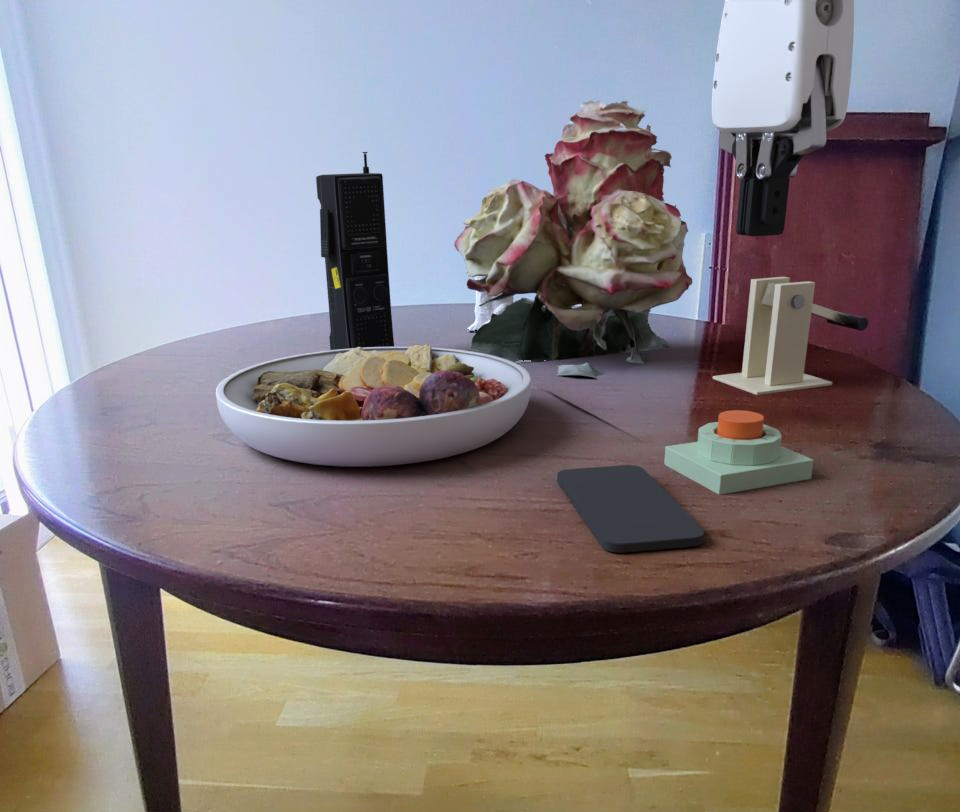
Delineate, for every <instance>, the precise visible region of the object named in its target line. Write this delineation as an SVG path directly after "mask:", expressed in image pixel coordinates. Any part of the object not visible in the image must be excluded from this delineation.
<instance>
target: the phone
mask: <svg viewBox="0 0 960 812" xmlns="http://www.w3.org/2000/svg"><path fill="white" fill-rule="evenodd" d="M556 482H557V484H558V486H559V487H560V489H561V490H562V492H563V493H564V495H565V496H566V497H567V499H568V500H569V502H570V503H571V505H572V506H573V508H574V509H575V510H576V512H577V513H578V515H579V516H580V518H581V519H582V520H583V522H584V524H585V525H586V526H587V528H588V529H589V531H590V532H591V533H592V535H593V536H594V538H595V539H596V541H597V542H598V544H599V545H600V546H601V547H602V548H603V549H604V550H605V551H608V552H611V553H617V554H619V553H620V554H622V553H636V552H647V551H648V552H649V551H659V550H670V549H682V548H693V547H698V546H700V545H703V544H704V542H705V534H706V532H705V530H704V528H702V527H701V526H700V524H698V522H696V520H694V518H692V516H690V514H689V513H688V512H687V511H686V510H685V509H684V508H683V507H682V506H681V505H680V504H679V503H678V502H677V500H675V499H674V498H673V497H672V496H671V495H670V494H669V493H668V492H667V491H666V490H665V489H664V488H663V487H662V486H661V485H660V484H659V483H658V482H657V481H656V479H654V478H653V477H652V475H651V474H649V472H648V471H647V470H646V469H644V467H641V466H639V465H633V464H625V465H624V464H621V465H610V466H609V465H607V466H596V467H595V466H594V467H582V468H581V467H580V468H567V469H563V470H559V471H558V472H557V473H556Z"/></svg>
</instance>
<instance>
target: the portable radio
mask: <svg viewBox="0 0 960 812" xmlns="http://www.w3.org/2000/svg"><path fill="white" fill-rule="evenodd" d="M361 153H362V154H363V162H364V163H363V164H364V165H363V166H362V172H360V173H357V172H356V173H332V174H331V173H330V174H319V175H317V176H315V182H316V195H317V197H316V198H317V200H318V201H319V204H320V209H319V226H320V227H319V228H320V257H321V258H324V264H325V275H326V290H327V301H328V314H329V316H328V317H329V328H330V329H329V330H330V333H329V337H328V339H329V350H338V349H350V348H357V347H362V348H365V347H395V340H394V339H395V338H394V328H393V327H394V326H393V315H392V303H391V302H392V301H391V289H390V288H391V287H390V274H389V258H388V243H387V241H388V240H387V227H386V226H387V225H386V210H385V194H384V177H383V176H384V175H383V173H381V172H380V173H379V172H374V173H373V172H370V167H369V166H368V157H367V154H368V153H369V151H362V152H361Z"/></svg>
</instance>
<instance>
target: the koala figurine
mask: <svg viewBox="0 0 960 812" xmlns="http://www.w3.org/2000/svg"><path fill="white" fill-rule="evenodd" d="M459 254H460V255H461V253H460V252H459ZM485 277H486V276H475V277H471V278H472V280H481V279H483V278H485ZM487 293H488V292H486V291H483V292H478V291H477V290H475V305H474V311H473V312H474V315H475V320H474V322H473V323H472V324H471V325H470V326H468V327H467V329H469V330H476V329H479V328H480V327H481V326H482V325H484V324H486V323H489V322H490V320H491V315H492V314H493V313H494V314H496V315H500V314H501V313H502V312H503V311H504V310H505V309H506V306H508V305H511V304H512V303H514V296H511V297H509V298H506V299H503V300H499V301H497V300H495V301H492V302H488V303H486V304H484V305H483V306H479V305H480V304H483V303H485V302H486V301H488V300H490V299H493V298H495V297H497V296H499V295H501V294H502V293H500V294H499V295H497V296H492V297H490V296H487Z"/></svg>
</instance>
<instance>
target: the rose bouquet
mask: <svg viewBox="0 0 960 812" xmlns="http://www.w3.org/2000/svg"><path fill="white" fill-rule="evenodd" d="M628 103H629V101H627V100H625V101H624V100H623V101H620V102H612V103H611V102H610V104H608V103H603V102H602V101H601V100H596V101H593V100H588V101H585V102H583V103H579V106H580V107H579V110H578V111H576V113H575V114H573V115H571V116H570V118H569V121H568V122H567V123H566V124H565V125H564V127H563V128H562V130H561V131H562V132H561V133H562V134H561V137H562V138H561V139H559V140H558V141H557V142H556V143H555V146H554V151H552V152H551V153H545V154H544V160H545V162H546V165H547V167H548V170H547V174H548V176H549V177H550V182H551V186H552V191H553V193H551V192H549V191H548V190H546V189H540V188H538V187H536V185H533V184H532V183H530V182H528V181H525V180H522V179H517V178H512V179H511V180H509V181H507V182H506V183H503V184H502V185H500V186H497V187H493V188H492V189H489V190H488V191H487V195H486V196H485V197H484V198H482V200H481V203H480V206H479V210H478V212H477V213H476V214H474V215H473V216H472V217H469V218H467V219H466V220H464V221H463V222H462V224H463V225H466V226H465V227H464V229H463V231H462V232H460V233H459V235H458V236H457V237H456V239H455V240H454V248H455V250H456V251H457V252H459V254H460V253H461V254H460V255H461V257H462V259H463V261H464V263H465V268H466V274H467V277H470V278H468V279H467V281H466V288H467V289H469V290H472V291H476V290H477V291H478V292H483V291H486V292H488V293H487V296H490V297H492V296H497V295H499V294H500V293H502V294H501V295H499V296H497V297H495V298H493V299H490V300H488V301H486V302H485V303H483V304H480V305H479V306H483V305H484V304H486V303H488V302H492V301H495V300H497V301H499V300H503V299H506V298H509V297H511V296H513V297H514V296H516V295H527V294H536V295H535V296H534V298H533V299H534V300H533V299H530V298H527V297H520V299H518V300H515V301H513V303H512V304H511V305H508V306H506V309H505V310H504V311H503V312H502V313H501V314H500V315H496V314H494V313H493V314H492V315H491V320H490V322H489V323H486V324H484V325H482V326H481V327H480V328H479V329H478V330H477V331H475V334H474V335H473V336H472V339H471V343H470V344H471V345H470V349H469V351H472V352H478V353H483V354H488V355H493V356H496V357H500V358H503V359H506V360H509V361H512V362H516V361H519V360H523V361H524V360H531V362H521V363H516V364H518V365H526V364H535V363H543V362H545V363H546V362H554V361H562V360H572V359H581V358H590V357H601V356H611V355H618V354H628V353H631V355H630V356H628V357H627V358H626V362H628V363H632V364H633V363H635V364H646V363H647V362H648V358H646V357H645V356H643V354H642V353H640V352H645V351H646V352H647V351H655V350H656V351H657V350H664V349H665V350H666V349H668V348H670V347H669V345H668V343H667V342H668V341H667V340H666V339H664V338H663V337H661V336H658V335H657V334H656V332H654V331H653V330H652V328H651V326H650V323H649V314H650V313H651V309H653V308H656V307H659V306H663V305H666V304H670V303H673V302H676V301H678V300H679V299H681V297H682V296H683V294H684V293H686V291H687V290H689V288H690V286H691V285H692V284H693V278H692V277H691V276H690V275H689V274H688V273H687V268H686V266H685V264H684V263H685V262H684V258H683V254H684V247H685V238H686V235H687V234H688V232H689V228H688V225H687V222H685V221H683V220H682V218H681V217H682V215H681V212H680V210H679V209H678V207H677V204H675V205H673V204H670V203H667V202H665V199H664V194H665V193H664V181H665V176H664V173H665V167H669V168H672V166H671V160H672V158H673V156H672V154H671V153H670V152H669V151H668V150H664V149H658V148H653V146H655V145H657V143H658V141H657V138H658V136H657V135H656V134H654V133H653V132H652V131H651V130H652V129H651V128H652V126H651V125H649V124H647V125H646V128H642V127H640V126H639V124H640V123H641V121H642V120H643V119H644V118H645V116H646V114H645V112H646V110H645V109H643V108H642V109H639V108H638V107H634V106H633V107H632V106H629V105H628ZM621 124H622V125H621ZM475 276H486V277H485V278H483V279H481V280H474V279H473V278H472V277H475ZM471 278H472V279H471ZM577 305H578V306H577ZM579 305H581V306H579ZM574 306H577V307H574ZM544 360H546V361H544ZM556 367H557V368H558V369H557V373H556V374H555V377H559V376H584V377H590V378H593V379H595V380H597V381H598V377H599V376H603V375H605V374H606V373H605V372H603V371H601V370H598V369H596V368H595V367H594V366H592V365H591V363H589V362H585V363H583V364H561V365H556Z"/></svg>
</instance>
